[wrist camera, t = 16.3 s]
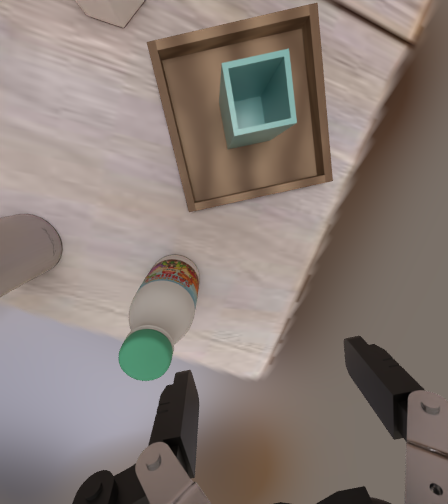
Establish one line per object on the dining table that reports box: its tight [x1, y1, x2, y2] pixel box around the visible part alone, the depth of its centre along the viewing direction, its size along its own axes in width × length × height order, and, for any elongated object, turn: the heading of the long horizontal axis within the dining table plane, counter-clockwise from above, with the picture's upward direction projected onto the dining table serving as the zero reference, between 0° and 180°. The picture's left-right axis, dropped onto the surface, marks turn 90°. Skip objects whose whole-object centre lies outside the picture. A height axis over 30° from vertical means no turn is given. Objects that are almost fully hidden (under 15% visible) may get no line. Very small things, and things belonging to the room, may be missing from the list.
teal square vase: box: [219, 49, 297, 149], centre depth 29 cm, size 6×6×12 cm
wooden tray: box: [147, 3, 333, 212], centre depth 34 cm, size 20×20×4 cm
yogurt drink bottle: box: [119, 255, 200, 381], centre depth 32 cm, size 8×8×20 cm
